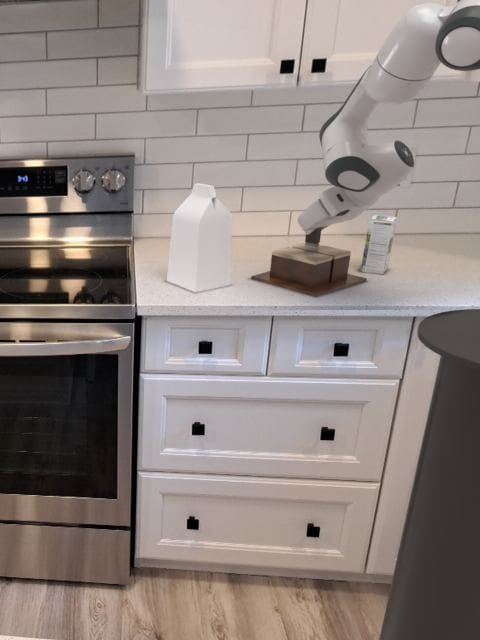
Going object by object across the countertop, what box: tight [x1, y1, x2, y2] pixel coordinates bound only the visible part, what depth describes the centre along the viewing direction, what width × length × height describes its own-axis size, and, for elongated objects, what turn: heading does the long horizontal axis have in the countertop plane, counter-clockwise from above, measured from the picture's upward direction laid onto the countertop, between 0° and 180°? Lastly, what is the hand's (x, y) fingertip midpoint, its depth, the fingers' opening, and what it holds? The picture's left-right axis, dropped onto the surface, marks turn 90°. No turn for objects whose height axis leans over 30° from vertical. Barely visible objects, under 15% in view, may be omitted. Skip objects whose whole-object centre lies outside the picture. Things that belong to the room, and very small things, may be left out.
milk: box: [166, 182, 233, 293], centre depth 180 cm, size 12×12×26 cm
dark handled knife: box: [304, 227, 322, 253], centre depth 178 cm, size 4×2×15 cm, turn 31°
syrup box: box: [360, 214, 398, 275], centre depth 184 cm, size 6×6×14 cm
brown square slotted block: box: [250, 242, 367, 298], centre depth 181 cm, size 20×20×8 cm
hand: (311, 231), depth 178 cm, fingers closed on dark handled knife, 2 cm apart
